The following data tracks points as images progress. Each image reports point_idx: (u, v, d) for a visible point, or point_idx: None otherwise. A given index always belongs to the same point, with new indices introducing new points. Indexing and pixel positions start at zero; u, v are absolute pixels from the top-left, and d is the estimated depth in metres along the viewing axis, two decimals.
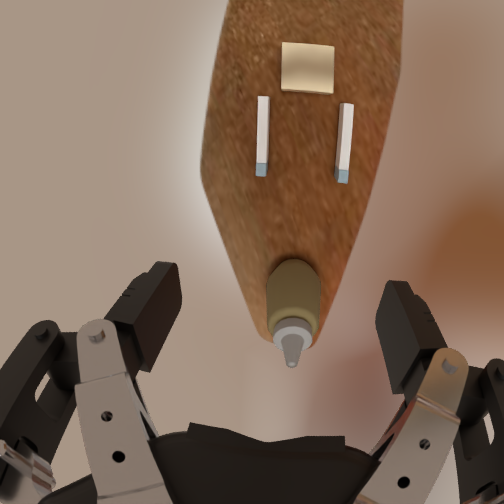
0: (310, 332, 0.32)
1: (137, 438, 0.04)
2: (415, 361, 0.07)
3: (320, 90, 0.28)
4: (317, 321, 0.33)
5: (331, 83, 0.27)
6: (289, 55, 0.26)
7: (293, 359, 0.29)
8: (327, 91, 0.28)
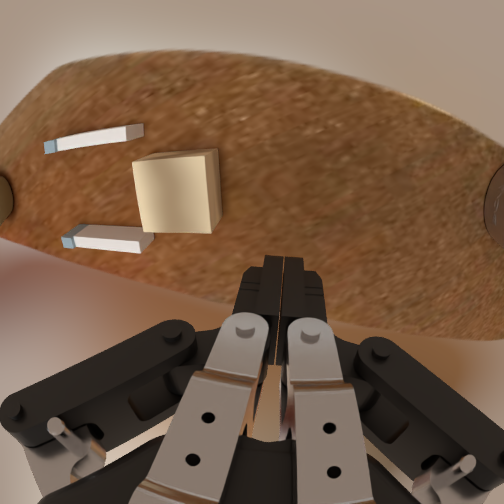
0: None
1: (224, 453, 0.04)
2: (282, 329, 0.08)
3: (142, 215, 0.22)
4: None
5: (155, 229, 0.22)
6: (183, 168, 0.20)
7: None
8: (143, 224, 0.22)
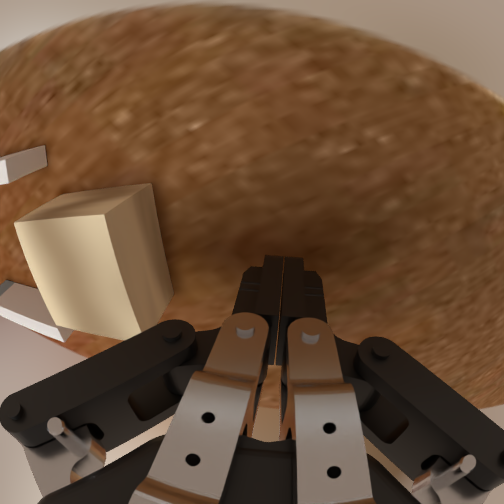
0: None
1: (224, 453, 0.04)
2: (282, 329, 0.08)
3: (46, 303, 0.12)
4: None
5: (68, 325, 0.12)
6: (76, 238, 0.09)
7: None
8: (52, 315, 0.12)
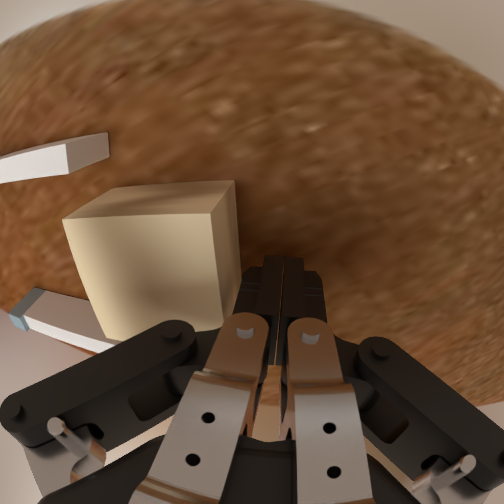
0: None
1: (224, 453, 0.04)
2: (282, 329, 0.08)
3: (97, 314, 0.11)
4: None
5: (124, 338, 0.11)
6: (161, 239, 0.09)
7: None
8: (103, 327, 0.11)
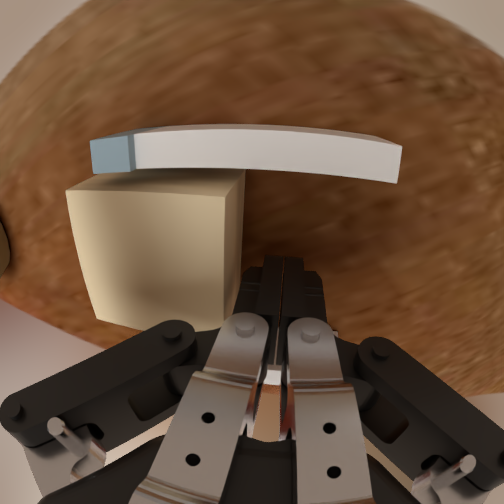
0: None
1: (224, 453, 0.04)
2: (282, 329, 0.08)
3: (91, 293, 0.11)
4: None
5: (116, 320, 0.11)
6: (170, 220, 0.08)
7: None
8: (95, 307, 0.11)
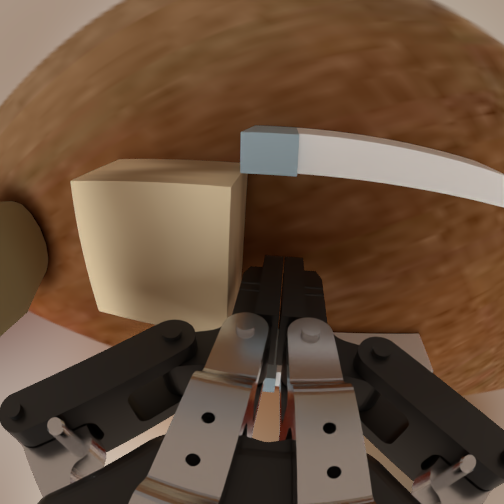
0: None
1: (224, 453, 0.04)
2: (282, 329, 0.08)
3: (93, 285, 0.11)
4: None
5: (119, 312, 0.11)
6: (175, 210, 0.09)
7: None
8: (97, 299, 0.11)
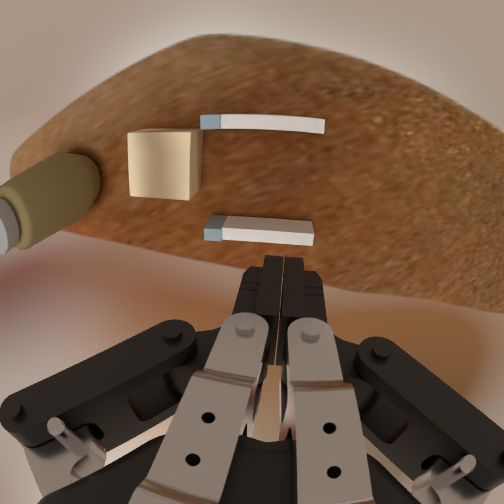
0: (8, 250, 0.17)
1: (224, 453, 0.04)
2: (282, 329, 0.08)
3: (130, 180, 0.24)
4: (26, 247, 0.19)
5: (140, 194, 0.24)
6: (171, 142, 0.22)
7: None
8: (130, 189, 0.24)
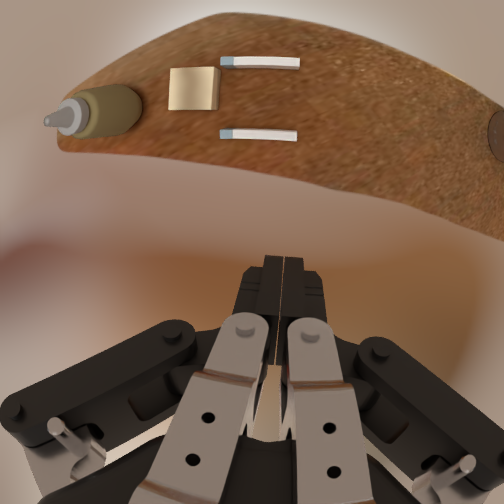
0: (77, 130, 0.26)
1: (224, 453, 0.04)
2: (282, 329, 0.08)
3: (169, 99, 0.33)
4: (87, 135, 0.28)
5: (176, 108, 0.33)
6: (200, 73, 0.31)
7: (51, 120, 0.22)
8: (169, 105, 0.33)
